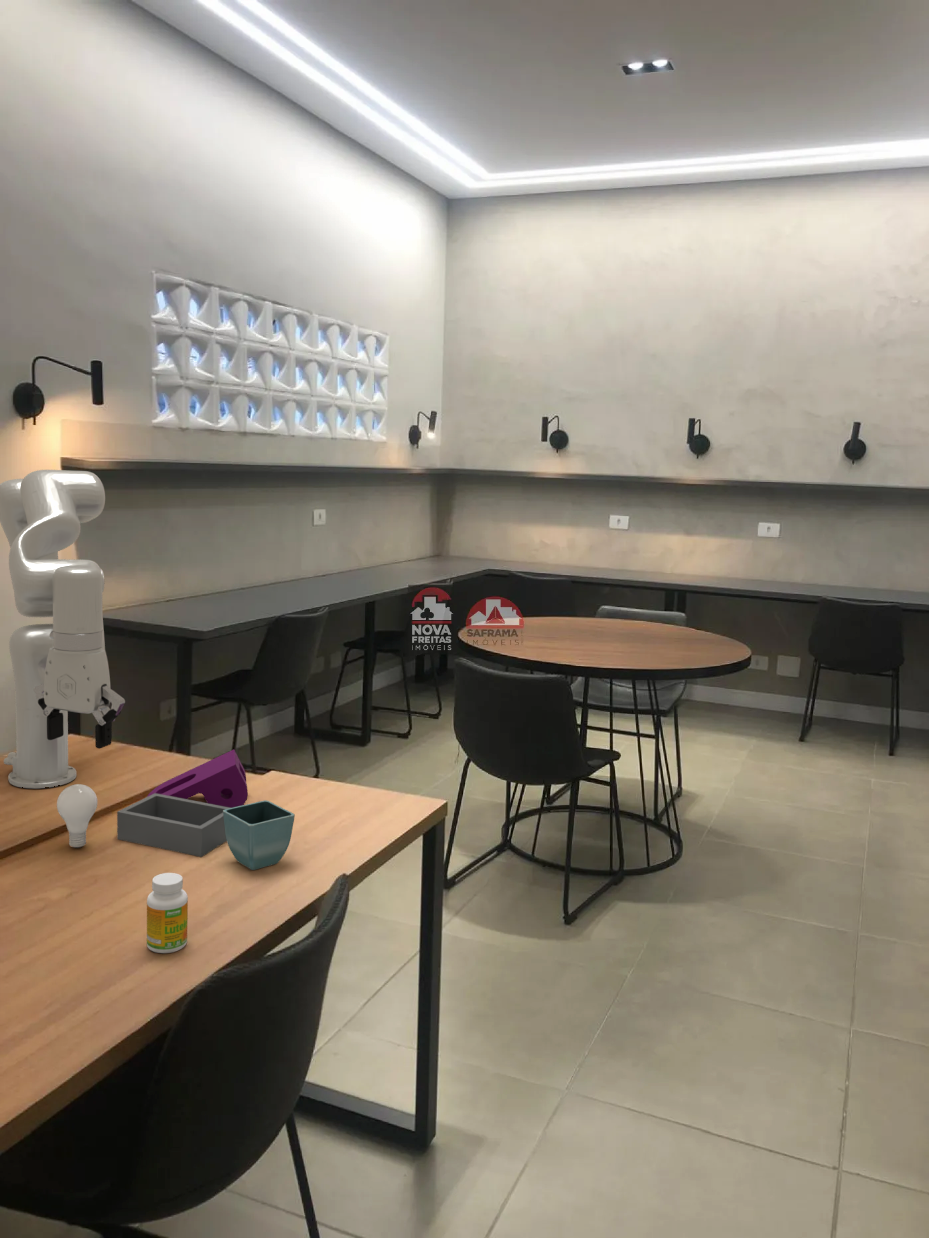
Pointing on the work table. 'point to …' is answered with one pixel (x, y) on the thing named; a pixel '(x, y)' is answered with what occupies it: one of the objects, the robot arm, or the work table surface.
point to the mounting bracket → (211, 782)
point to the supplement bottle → (167, 914)
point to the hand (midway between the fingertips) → (79, 742)
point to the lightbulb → (77, 811)
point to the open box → (173, 824)
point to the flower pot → (258, 833)
